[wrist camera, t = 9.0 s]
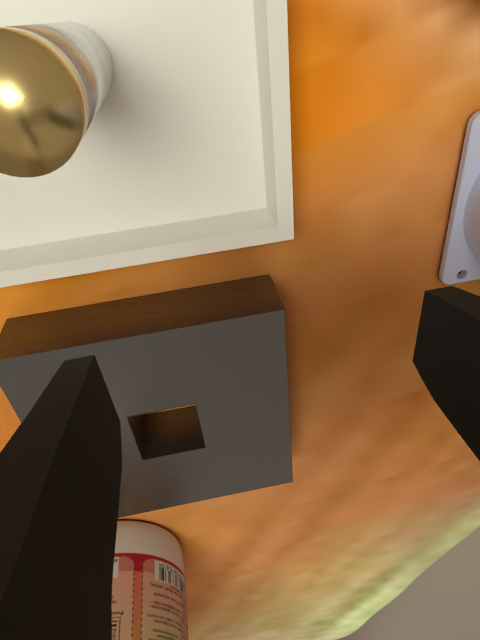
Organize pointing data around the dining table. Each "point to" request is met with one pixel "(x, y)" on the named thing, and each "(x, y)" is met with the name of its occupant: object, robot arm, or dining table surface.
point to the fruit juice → (148, 584)
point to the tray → (161, 141)
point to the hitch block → (174, 385)
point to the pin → (48, 93)
